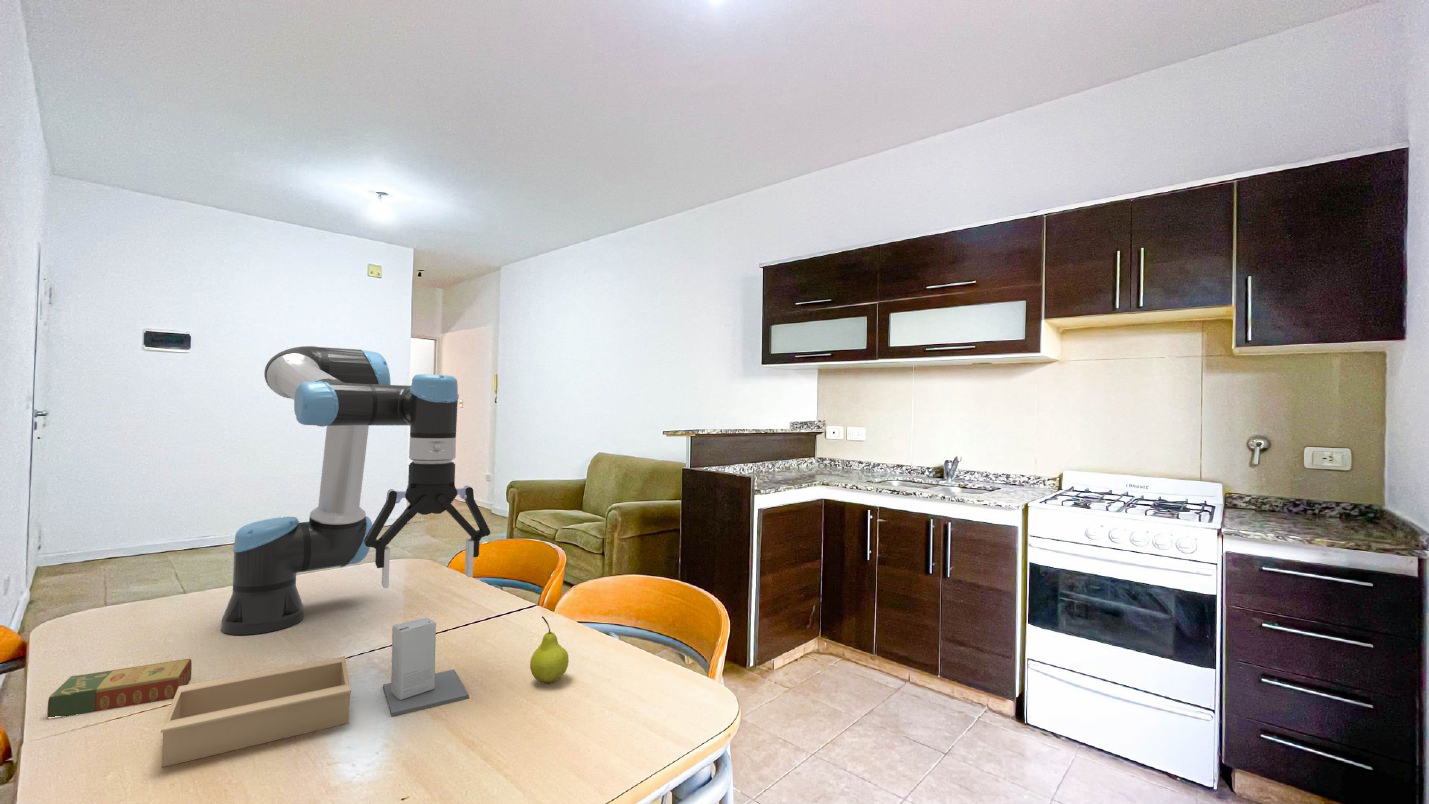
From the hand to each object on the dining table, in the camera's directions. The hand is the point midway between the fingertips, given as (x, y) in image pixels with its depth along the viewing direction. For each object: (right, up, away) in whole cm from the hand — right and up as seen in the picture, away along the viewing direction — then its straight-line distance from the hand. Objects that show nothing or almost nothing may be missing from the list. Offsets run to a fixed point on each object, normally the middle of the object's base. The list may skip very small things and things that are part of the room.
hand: (428, 580), depth 107 cm
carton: (-50, -19, -5) cm, 53 cm away
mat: (0, -20, 0) cm, 20 cm away
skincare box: (-2, -19, -1) cm, 20 cm away
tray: (-20, -19, -13) cm, 30 cm away
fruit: (+20, -21, +5) cm, 29 cm away
